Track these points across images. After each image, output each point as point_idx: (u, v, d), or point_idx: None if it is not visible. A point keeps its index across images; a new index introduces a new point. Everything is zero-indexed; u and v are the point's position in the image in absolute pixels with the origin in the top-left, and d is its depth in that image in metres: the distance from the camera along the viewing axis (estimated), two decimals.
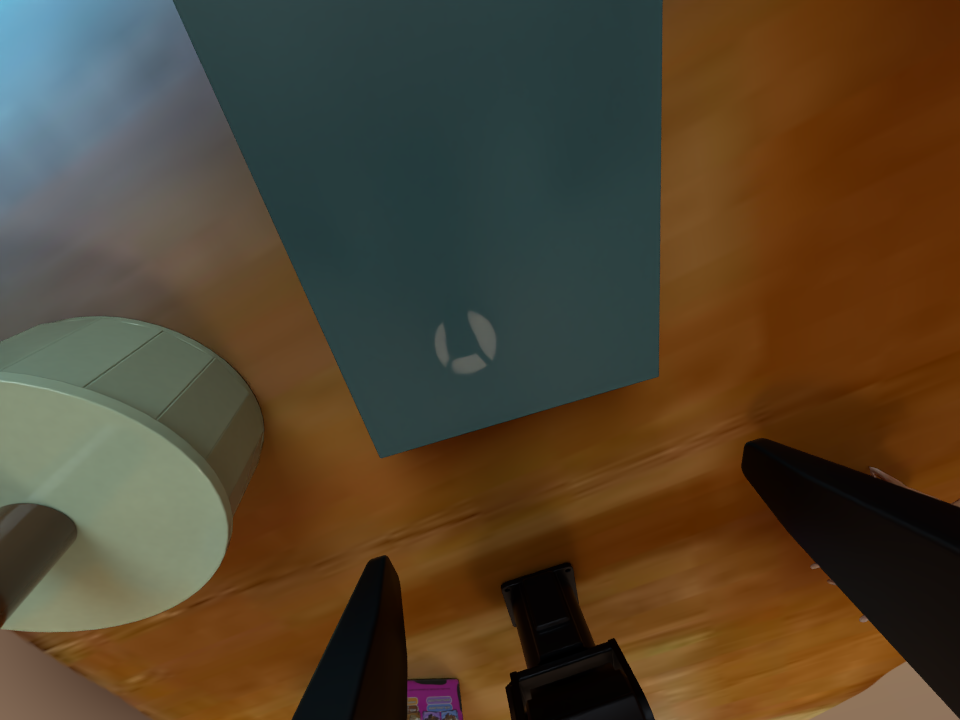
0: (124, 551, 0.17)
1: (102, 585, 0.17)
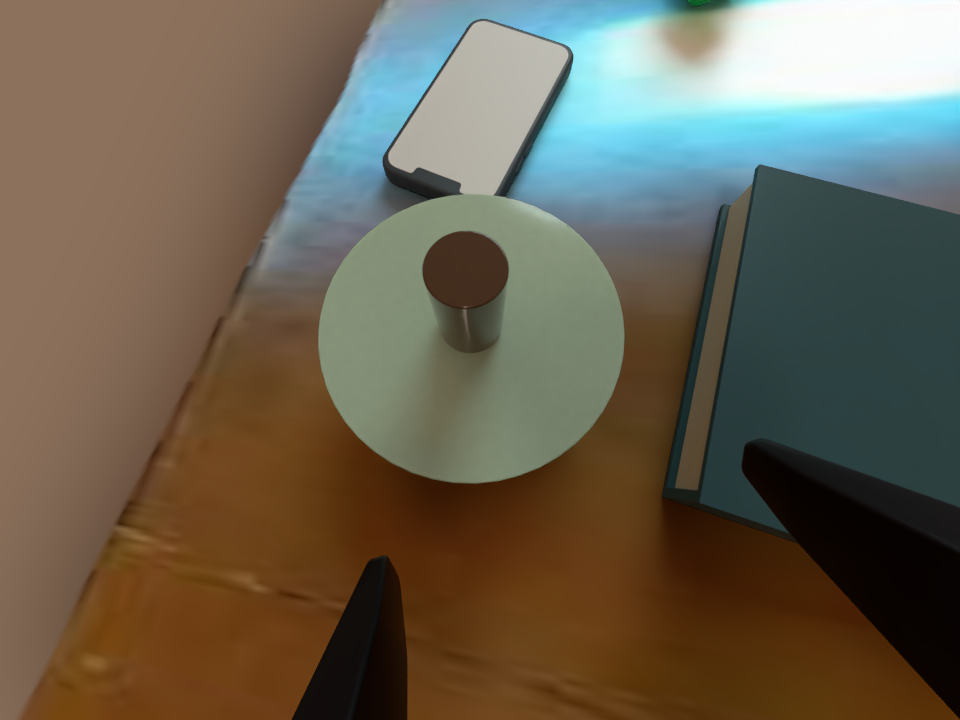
0: (495, 388, 0.16)
1: (441, 407, 0.16)
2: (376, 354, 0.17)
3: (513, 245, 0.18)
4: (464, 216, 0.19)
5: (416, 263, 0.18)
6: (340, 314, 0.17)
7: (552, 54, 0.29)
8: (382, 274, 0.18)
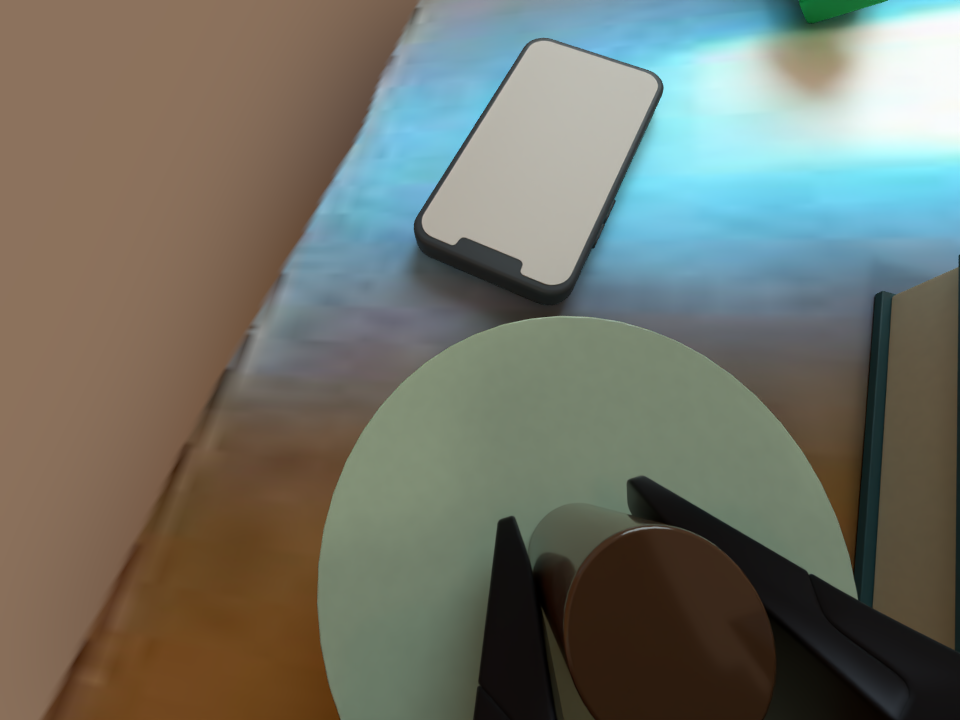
0: None
1: None
2: (418, 620, 0.10)
3: (644, 410, 0.11)
4: (559, 355, 0.12)
5: (484, 440, 0.11)
6: (356, 535, 0.10)
7: (636, 84, 0.22)
8: (427, 459, 0.11)
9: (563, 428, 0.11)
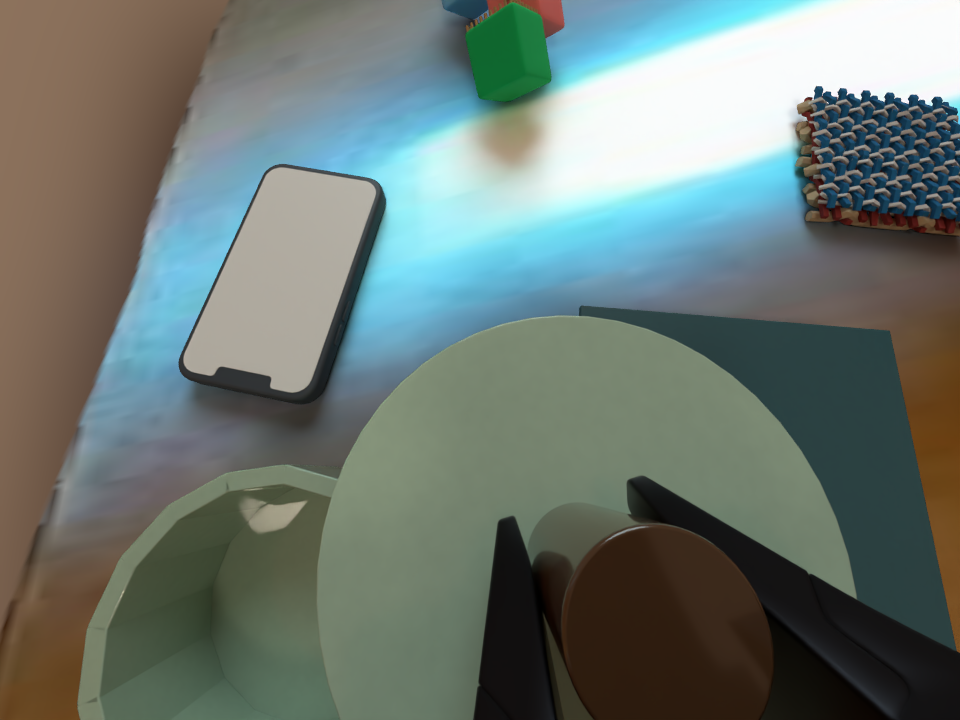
0: None
1: None
2: (417, 620, 0.10)
3: (643, 409, 0.11)
4: (558, 355, 0.12)
5: (483, 440, 0.11)
6: (355, 535, 0.10)
7: (358, 193, 0.26)
8: (426, 459, 0.11)
9: (562, 427, 0.11)
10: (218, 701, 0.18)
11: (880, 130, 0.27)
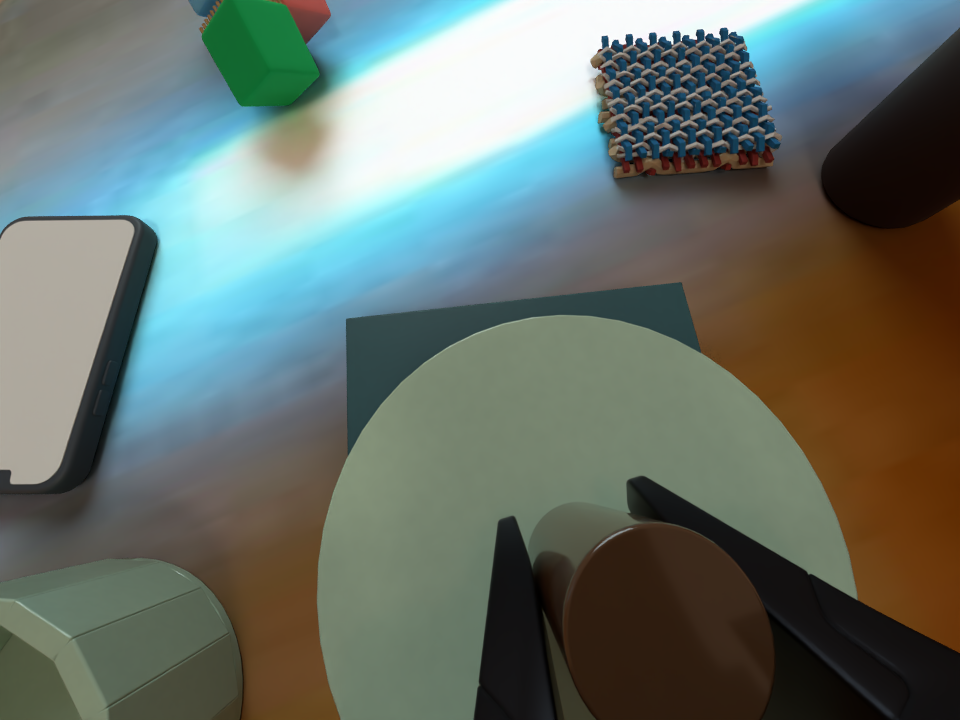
0: None
1: None
2: (418, 619, 0.10)
3: (644, 409, 0.11)
4: (558, 354, 0.12)
5: (484, 439, 0.11)
6: (356, 534, 0.10)
7: (113, 235, 0.23)
8: (427, 458, 0.11)
9: (563, 427, 0.11)
10: None
11: (670, 71, 0.25)
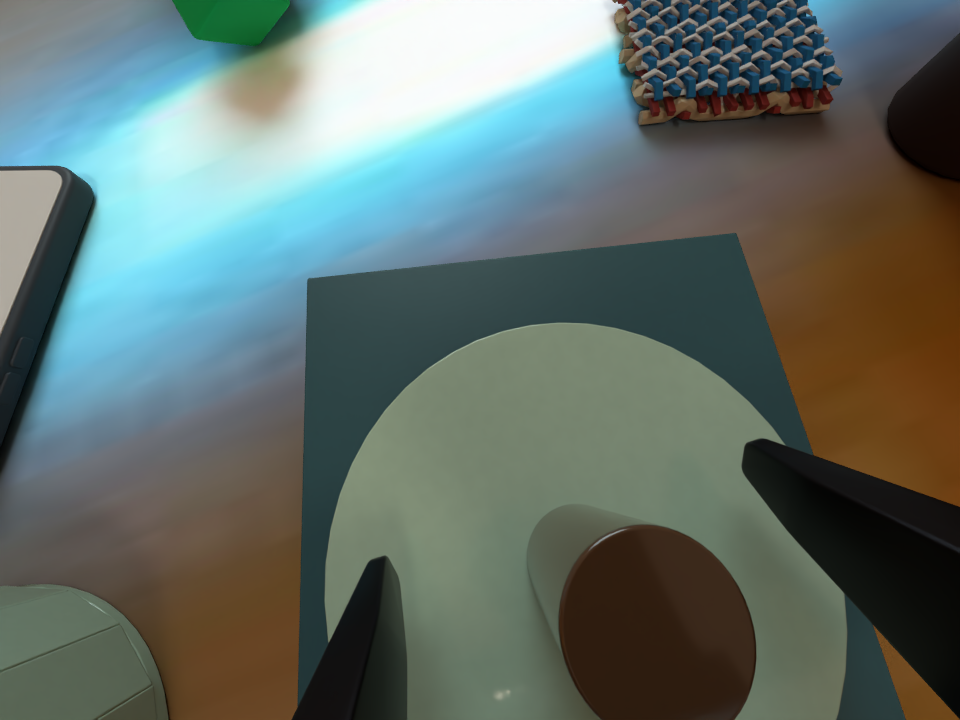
0: None
1: None
2: (422, 617, 0.10)
3: (640, 414, 0.11)
4: (557, 360, 0.12)
5: (485, 443, 0.11)
6: (362, 535, 0.11)
7: (36, 187, 0.19)
8: (430, 462, 0.11)
9: (561, 431, 0.11)
10: None
11: None
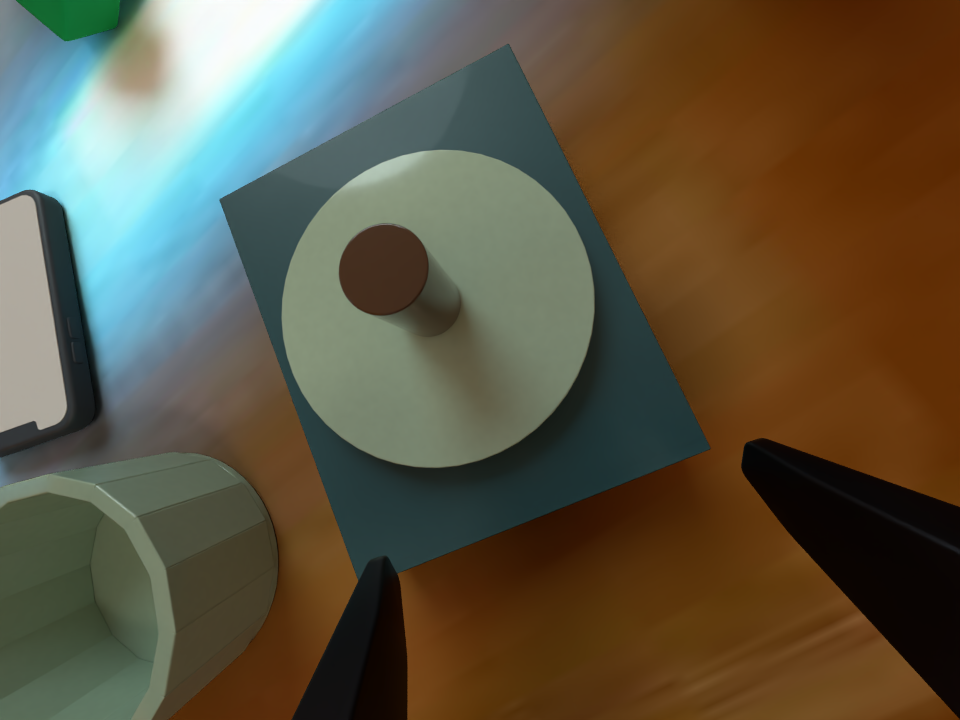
0: (471, 363, 0.16)
1: (425, 398, 0.16)
2: (348, 364, 0.17)
3: (448, 204, 0.17)
4: (388, 188, 0.17)
5: None
6: (301, 335, 0.17)
7: (20, 212, 0.25)
8: (327, 281, 0.17)
9: None
10: (127, 676, 0.21)
11: None
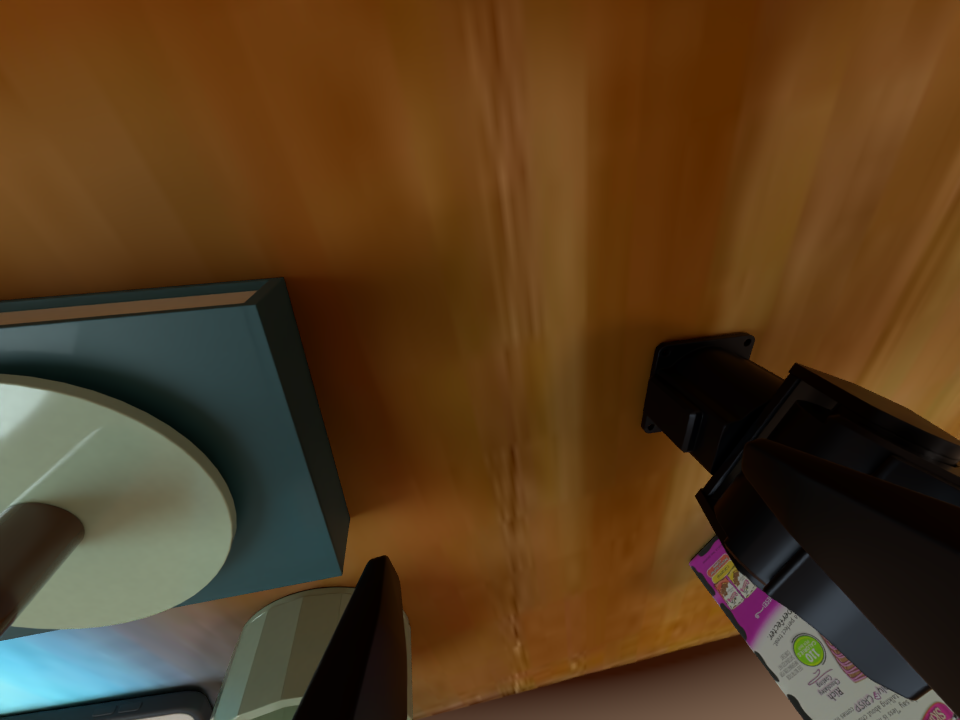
0: (119, 502, 0.16)
1: (157, 539, 0.17)
2: (116, 588, 0.18)
3: None
4: None
5: None
6: (82, 616, 0.18)
7: None
8: None
9: None
10: None
11: None
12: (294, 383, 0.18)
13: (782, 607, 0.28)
